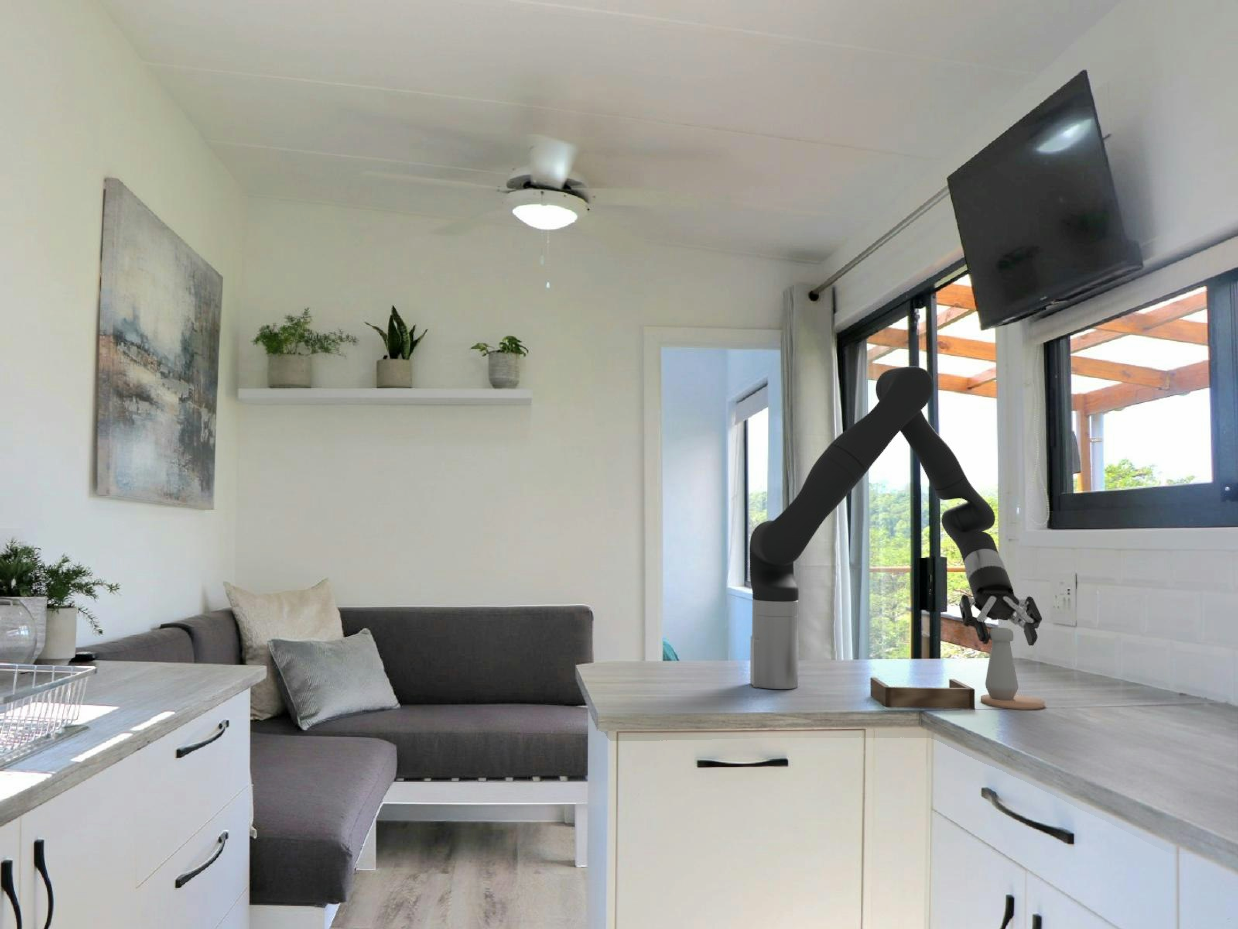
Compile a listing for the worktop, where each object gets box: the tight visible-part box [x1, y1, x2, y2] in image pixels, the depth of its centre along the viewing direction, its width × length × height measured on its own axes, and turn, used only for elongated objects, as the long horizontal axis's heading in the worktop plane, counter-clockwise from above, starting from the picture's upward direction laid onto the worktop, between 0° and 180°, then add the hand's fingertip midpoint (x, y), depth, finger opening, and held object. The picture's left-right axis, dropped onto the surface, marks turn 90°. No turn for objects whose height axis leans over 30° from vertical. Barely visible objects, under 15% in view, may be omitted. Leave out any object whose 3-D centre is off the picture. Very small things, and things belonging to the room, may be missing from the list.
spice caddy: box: [869, 677, 976, 710], centre depth 177 cm, size 16×11×4 cm
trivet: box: [980, 693, 1046, 711], centre depth 177 cm, size 11×11×1 cm
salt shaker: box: [984, 627, 1019, 700], centre depth 178 cm, size 6×6×13 cm
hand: (1009, 642), depth 178 cm, fingers open, 8 cm apart
